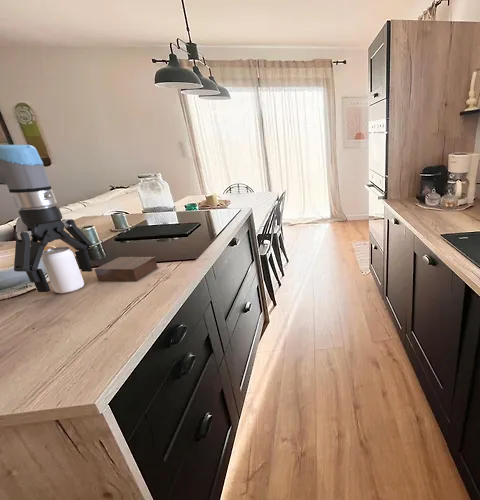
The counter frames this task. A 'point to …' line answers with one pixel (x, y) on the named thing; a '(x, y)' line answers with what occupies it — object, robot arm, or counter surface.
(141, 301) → the counter surface
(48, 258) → the can
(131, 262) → the walnut block
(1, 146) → the robot arm
